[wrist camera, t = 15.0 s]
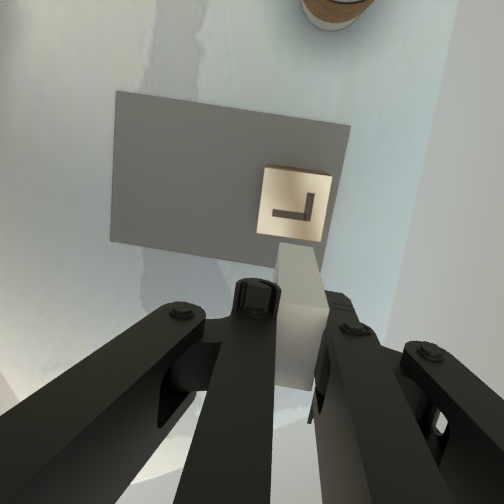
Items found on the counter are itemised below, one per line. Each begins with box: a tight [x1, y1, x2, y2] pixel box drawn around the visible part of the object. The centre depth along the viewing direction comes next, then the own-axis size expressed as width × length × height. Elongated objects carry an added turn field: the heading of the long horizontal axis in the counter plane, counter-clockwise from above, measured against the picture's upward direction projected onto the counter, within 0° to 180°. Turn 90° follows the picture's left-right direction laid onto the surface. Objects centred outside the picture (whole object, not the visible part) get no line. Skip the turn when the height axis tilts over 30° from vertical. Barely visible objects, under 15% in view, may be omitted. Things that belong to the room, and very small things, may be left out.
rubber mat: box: [110, 91, 351, 272], centre depth 41 cm, size 24×16×1 cm, turn 82°
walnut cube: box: [256, 164, 332, 242], centre depth 37 cm, size 6×6×6 cm
